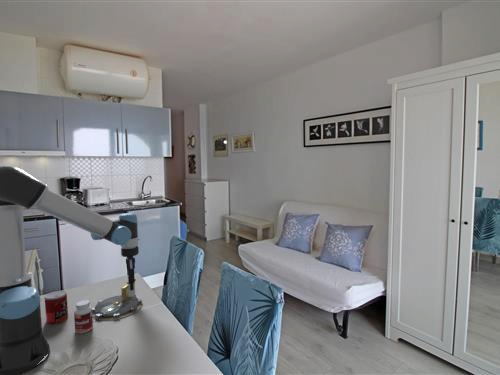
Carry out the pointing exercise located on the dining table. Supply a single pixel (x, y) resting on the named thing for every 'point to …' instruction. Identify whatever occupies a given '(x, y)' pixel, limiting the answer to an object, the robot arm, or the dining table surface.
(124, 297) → the sprocket
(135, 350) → the dining table surface
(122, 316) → the base
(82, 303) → the pill bottle
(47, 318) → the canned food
